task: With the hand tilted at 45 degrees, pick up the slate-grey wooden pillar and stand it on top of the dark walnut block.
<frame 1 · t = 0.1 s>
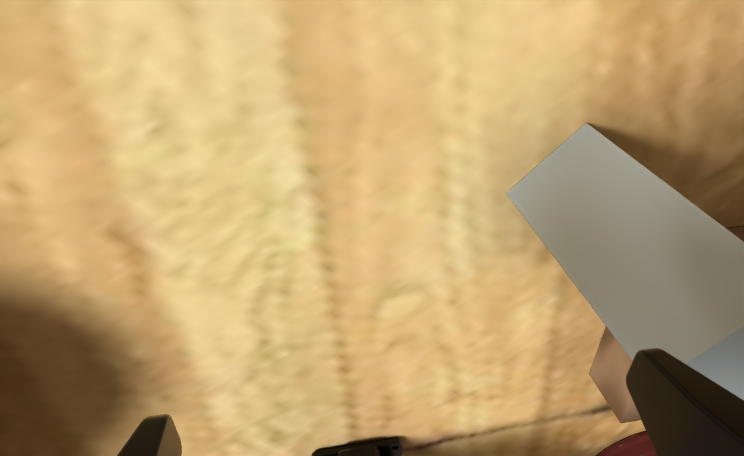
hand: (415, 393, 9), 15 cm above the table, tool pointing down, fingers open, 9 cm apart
slate pillar: (570, 186, 26), on the table
walnut block: (694, 302, 33), on the table
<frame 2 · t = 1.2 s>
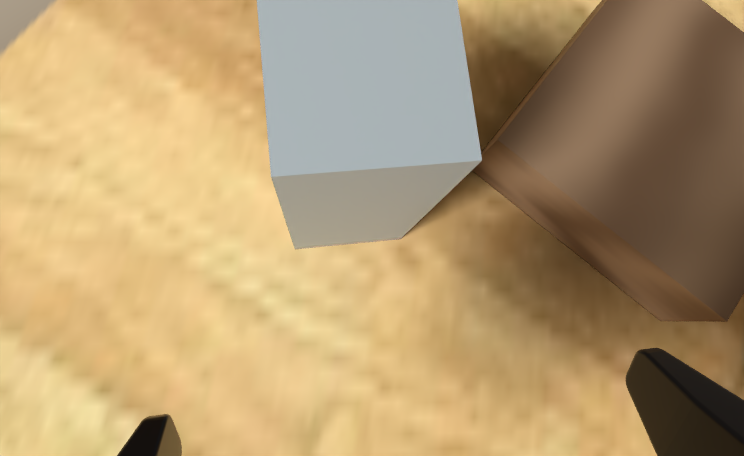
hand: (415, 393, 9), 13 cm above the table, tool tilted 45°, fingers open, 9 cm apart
slate pillar: (342, 192, 24), on the table
walnut block: (626, 155, 26), on the table
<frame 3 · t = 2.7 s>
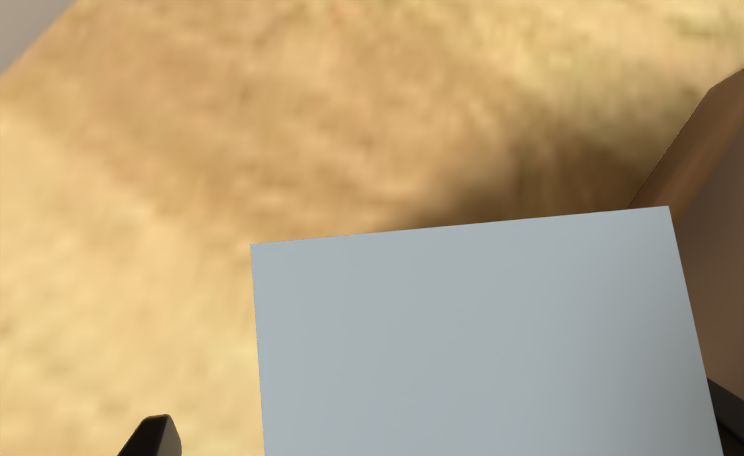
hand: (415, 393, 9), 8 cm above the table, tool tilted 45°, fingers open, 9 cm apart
slate pillar: (378, 362, 17), on the table
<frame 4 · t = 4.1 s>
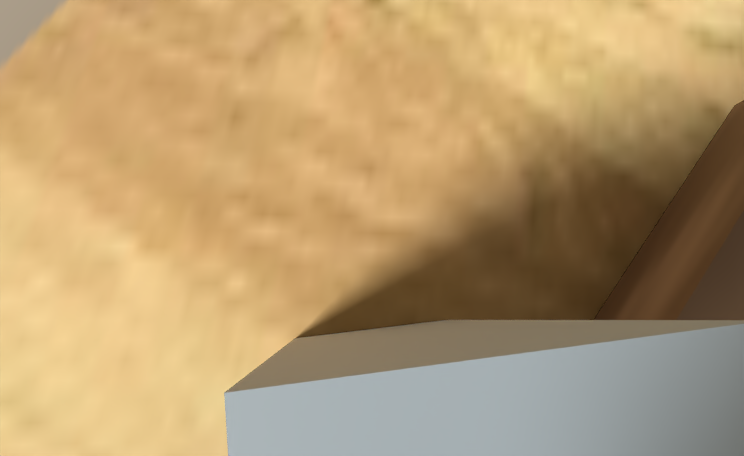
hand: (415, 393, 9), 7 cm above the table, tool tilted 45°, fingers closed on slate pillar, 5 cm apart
slate pillar: (381, 408, 16), on the table, touching gripper
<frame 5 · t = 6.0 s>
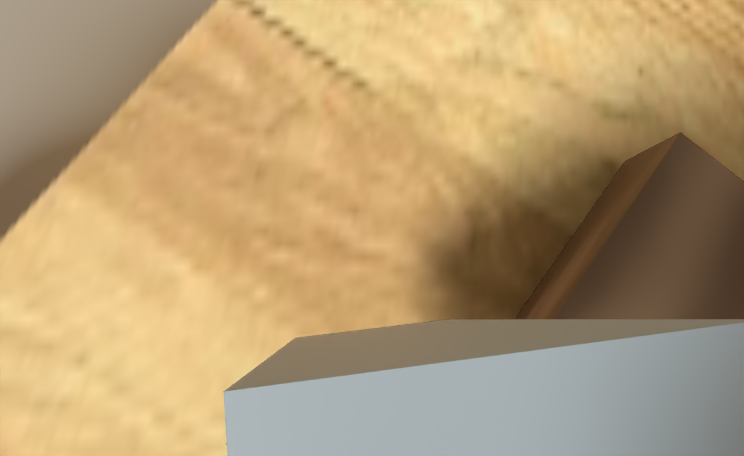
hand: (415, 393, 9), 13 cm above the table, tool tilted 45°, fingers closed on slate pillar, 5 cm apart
slate pillar: (381, 408, 16), point 7 cm above the table, touching gripper
walnut block: (660, 326, 24), on the table
when the fingers open (12 cm above the table, at t = 7.9 s): slate pillar drops 1 cm, resting on walnut block.
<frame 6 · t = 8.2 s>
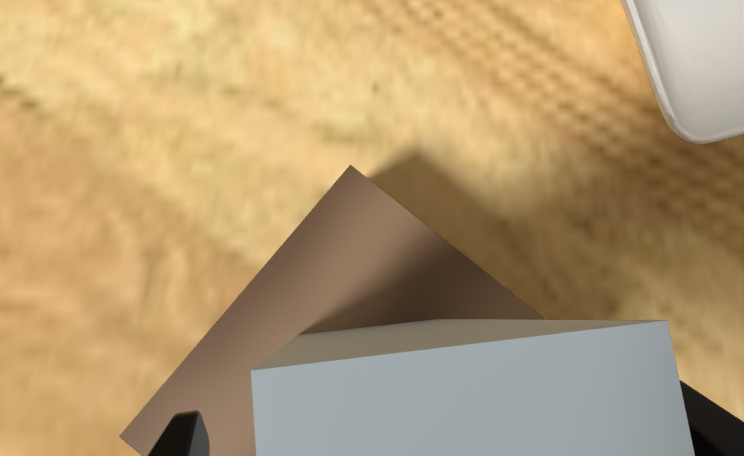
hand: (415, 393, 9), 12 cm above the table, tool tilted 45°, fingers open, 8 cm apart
slate pillar: (376, 400, 17), point 4 cm above the table, touching walnut block
walnut block: (366, 385, 21), on the table
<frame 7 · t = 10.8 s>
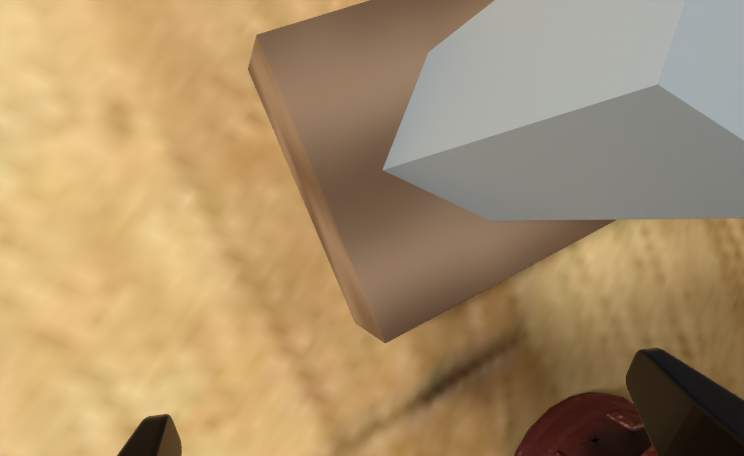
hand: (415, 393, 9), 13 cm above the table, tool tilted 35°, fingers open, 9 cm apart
slate pillar: (460, 138, 20), point 4 cm above the table, touching walnut block
walnut block: (419, 152, 23), on the table
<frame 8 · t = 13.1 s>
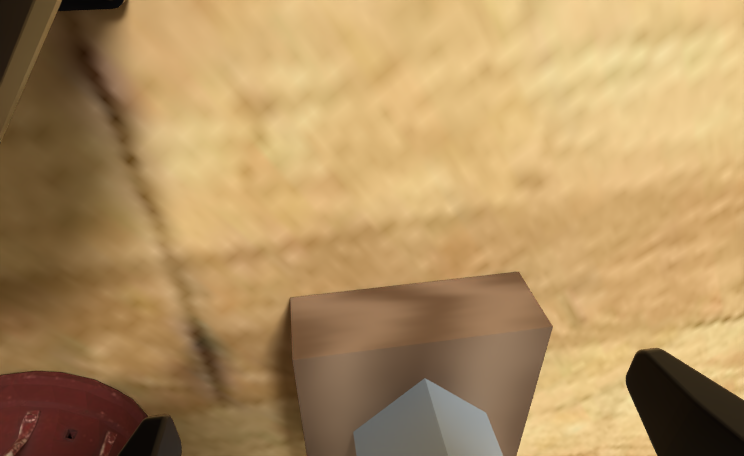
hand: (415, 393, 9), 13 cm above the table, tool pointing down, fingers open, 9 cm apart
slate pillar: (420, 422, 26), point 4 cm above the table, touching walnut block
lantern: (54, 428, 28), on the table
walnut block: (404, 361, 29), on the table
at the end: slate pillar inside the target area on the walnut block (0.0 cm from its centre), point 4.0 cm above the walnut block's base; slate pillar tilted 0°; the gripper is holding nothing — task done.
